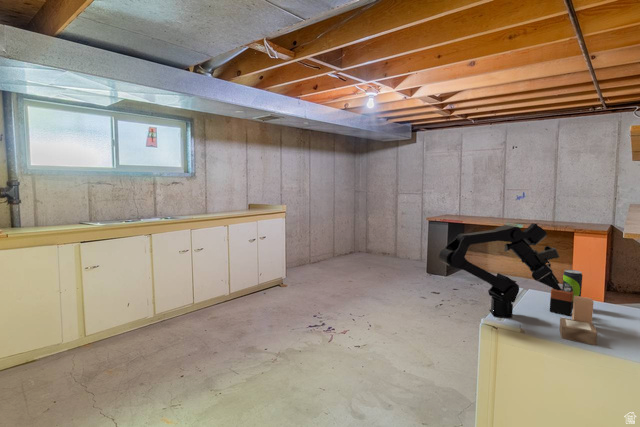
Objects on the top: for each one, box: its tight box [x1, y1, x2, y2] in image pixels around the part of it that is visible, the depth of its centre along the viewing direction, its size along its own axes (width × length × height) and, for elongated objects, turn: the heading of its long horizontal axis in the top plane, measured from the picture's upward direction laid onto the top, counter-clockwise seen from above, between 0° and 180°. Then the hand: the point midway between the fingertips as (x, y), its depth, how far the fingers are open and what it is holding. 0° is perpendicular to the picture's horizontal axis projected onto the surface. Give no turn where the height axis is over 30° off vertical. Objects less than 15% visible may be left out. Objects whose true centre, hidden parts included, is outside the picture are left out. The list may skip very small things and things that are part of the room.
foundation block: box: [559, 317, 598, 346], centre depth 114 cm, size 9×9×4 cm
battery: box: [549, 287, 574, 317], centre depth 135 cm, size 4×7×10 cm, turn 47°
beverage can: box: [561, 269, 583, 310], centre depth 141 cm, size 6×6×15 cm
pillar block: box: [571, 296, 594, 323], centre depth 122 cm, size 5×5×10 cm
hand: (559, 286), depth 125 cm, fingers open, 9 cm apart
